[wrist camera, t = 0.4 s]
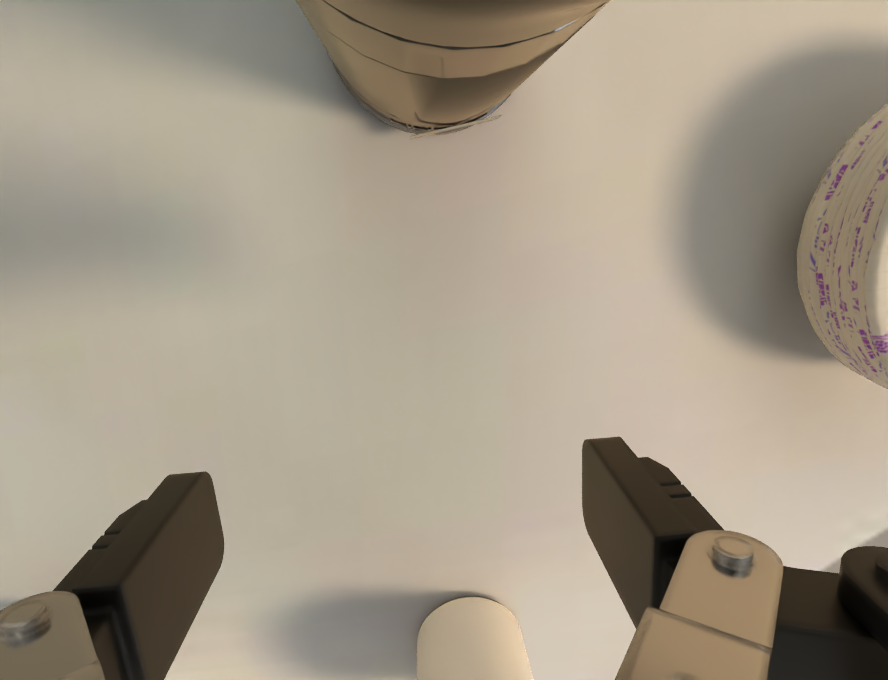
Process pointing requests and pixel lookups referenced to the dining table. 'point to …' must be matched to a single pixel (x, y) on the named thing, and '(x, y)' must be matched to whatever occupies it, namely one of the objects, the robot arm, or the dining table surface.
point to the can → (471, 643)
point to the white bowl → (850, 253)
